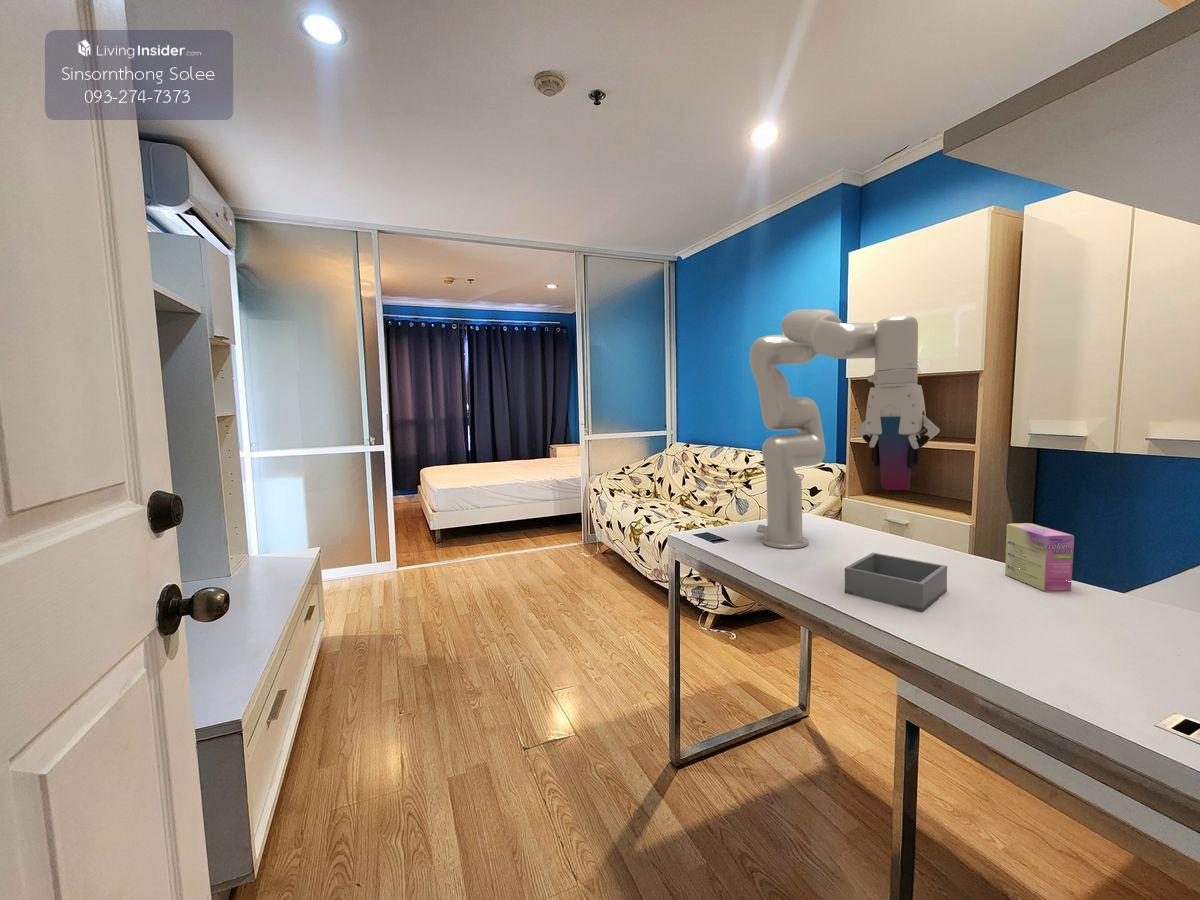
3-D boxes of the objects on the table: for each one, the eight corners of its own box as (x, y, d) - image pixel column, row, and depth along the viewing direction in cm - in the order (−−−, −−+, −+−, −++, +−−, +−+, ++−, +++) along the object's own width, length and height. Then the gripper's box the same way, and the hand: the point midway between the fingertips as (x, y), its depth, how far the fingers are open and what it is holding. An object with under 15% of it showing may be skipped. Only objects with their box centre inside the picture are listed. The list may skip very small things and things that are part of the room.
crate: (844, 592, 107) (844, 567, 106) (872, 575, 116) (872, 552, 116) (922, 612, 96) (922, 584, 95) (946, 591, 105) (947, 565, 104)
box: (1072, 591, 102) (1074, 534, 101) (1044, 592, 102) (1046, 535, 101) (1030, 574, 112) (1031, 522, 111) (1004, 575, 112) (1005, 523, 111)
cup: (922, 489, 101) (922, 415, 99) (888, 491, 101) (888, 417, 99) (901, 484, 107) (902, 414, 106) (870, 486, 107) (870, 416, 106)
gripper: (844, 382, 106) (844, 466, 108) (938, 376, 93) (937, 472, 95) (859, 382, 111) (859, 462, 113) (951, 376, 98) (950, 467, 99)
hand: (895, 466), depth 104 cm, fingers closed on cup, 6 cm apart
